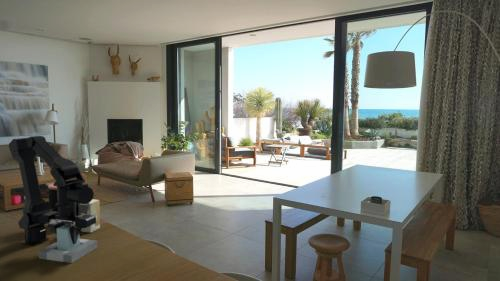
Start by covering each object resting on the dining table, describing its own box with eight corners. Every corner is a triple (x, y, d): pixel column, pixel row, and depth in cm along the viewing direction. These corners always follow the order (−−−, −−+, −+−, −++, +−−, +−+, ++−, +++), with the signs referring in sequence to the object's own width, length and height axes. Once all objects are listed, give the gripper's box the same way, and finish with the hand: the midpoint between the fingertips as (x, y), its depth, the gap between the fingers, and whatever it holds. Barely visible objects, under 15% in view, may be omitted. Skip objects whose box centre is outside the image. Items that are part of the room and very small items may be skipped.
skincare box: (91, 233, 141) (90, 203, 140) (81, 232, 142) (80, 202, 141) (100, 227, 147) (100, 199, 146) (91, 226, 148) (90, 198, 147)
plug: (57, 251, 120) (56, 224, 119) (69, 244, 126) (68, 219, 125) (68, 252, 119) (67, 225, 118) (79, 246, 125) (78, 220, 124)
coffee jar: (56, 221, 153) (54, 181, 151) (81, 221, 155) (80, 181, 153) (45, 230, 143) (42, 187, 141) (72, 230, 144) (70, 187, 142)
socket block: (38, 258, 118) (38, 251, 118) (66, 243, 130) (66, 237, 130) (71, 263, 115) (71, 255, 115) (97, 247, 128) (97, 240, 127)
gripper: (105, 195, 126) (106, 237, 128) (61, 191, 131) (63, 232, 132) (84, 204, 116) (85, 249, 117) (37, 199, 120) (39, 243, 121)
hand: (68, 242), depth 122 cm, fingers closed on plug, 4 cm apart
